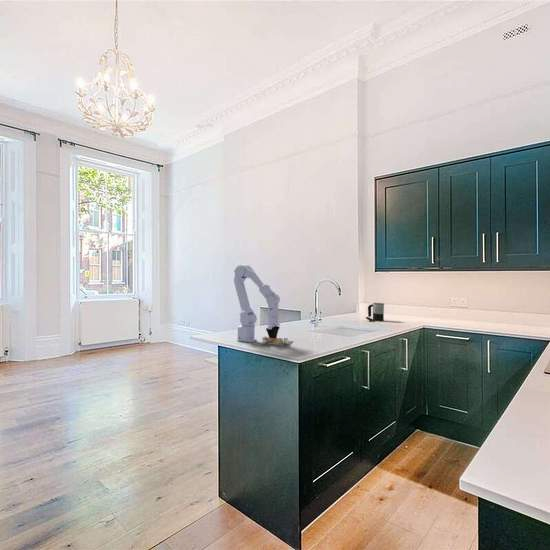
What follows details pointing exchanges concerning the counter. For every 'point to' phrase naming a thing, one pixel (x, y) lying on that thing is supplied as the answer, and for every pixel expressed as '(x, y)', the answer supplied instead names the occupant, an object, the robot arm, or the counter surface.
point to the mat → (277, 344)
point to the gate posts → (266, 341)
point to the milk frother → (376, 312)
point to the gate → (275, 340)
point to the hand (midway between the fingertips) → (272, 340)
